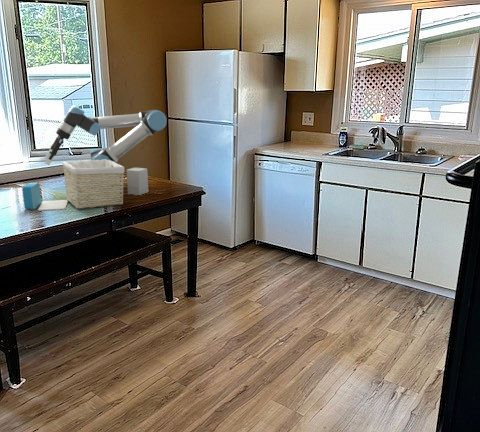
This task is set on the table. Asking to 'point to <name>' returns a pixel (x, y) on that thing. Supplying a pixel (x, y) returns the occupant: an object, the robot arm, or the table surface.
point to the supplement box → (137, 181)
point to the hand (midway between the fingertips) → (46, 161)
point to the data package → (31, 195)
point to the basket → (93, 183)
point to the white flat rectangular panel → (53, 205)
